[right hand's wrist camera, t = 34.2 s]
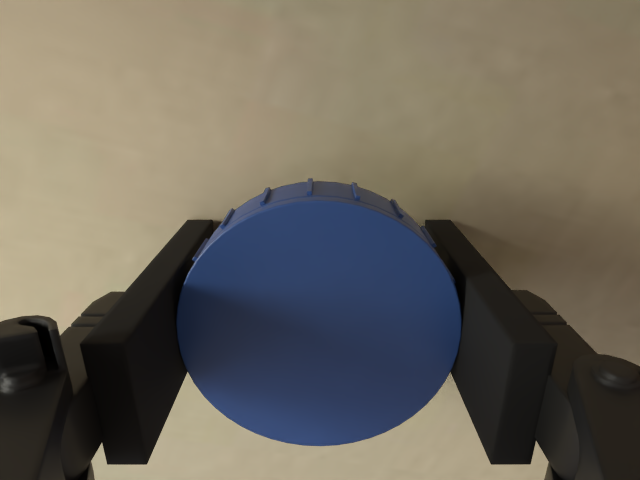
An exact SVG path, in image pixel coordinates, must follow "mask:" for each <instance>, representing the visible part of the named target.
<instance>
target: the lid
mask: <svg viewBox="0 0 640 480" xmlns="http://www.w3.org/2000/svg"><path fill="white" fill-rule="evenodd" d="M436 246H437V245H436V244H435V242H434V241H433V239H432V238H431V236H430V235H429V233H428V232H427V230H426V229H425V227H424V226H422V227H419V225H418V224H417V223H416V222H415V221H414V220H413V219H412V218H411V217H410V216H409V215H408V214H407V213H406V212H404V211H403V210H402V209H401V208H400V207H399V206H398V204H397V202H396V201H395V200H394V199H392V200H391V201H389V200H387V199H386V198H384V197H382V196H380V195H378V194H375V193H373V192H371V191H369V190H366V189H362V188H359V187H358V186H357V183H354V182H352V185H348V184H342V183H337V182H321V181H315V182H313V179H312V178H311V179H308V182H301V183H296V184H291V185H286V186H281V187H279V188H276V189H273V190H270V188H266V189H265V191H264V193H263V194H261V195H259V196H257V197H255V198H253V199H251V200H249V201H247V202H246V203H245V204H243V205H242V206H240V207H239V208H237V209H236V210H234V209H233V208H232V209H231V210H230V211H229V212H228V214H227V215H226V217H225V219H224V220H223V222H222V223H221V224H220V226H219V227H218V228H217V229H216V230H215V232H214V233H213V234H212V236H211V238H210V239H207V238H206V239H205V241H204V242H203V244H202V245H201V247H200V248H199V250H198V251H197V253H196V254H195V256H194V257H193V259H192V260H193V261H195V263H194V264H193V266H192V268H191V269H190V271H189V273H188V275H187V277H186V279H185V282H184V284H183V287H182V289H181V293H180V295H179V301H178V305H177V316H176V329H177V340H178V344H179V349H180V353H181V356H182V359H183V361H184V364H185V367H186V369H187V371H188V373H189V375H190V376H191V378H192V380H193V382H194V383H195V385H196V386H197V387H198V389H199V390H200V391H201V393H202V394H203V396H204V397H205V398H206V399H207V400H208V401H209V402H210V403H211V404H212V405H213V406H214V407H215V408H216V409H218V410H219V411H220V412H221V413H222V414H224V415H225V416H226V417H227V418H229V419H231V420H232V421H234V422H235V423H237V424H238V425H240V426H242V427H244V428H246V429H248V430H250V431H252V432H254V433H256V434H259V435H262V436H264V437H267V438H270V439H273V440H277V441H281V442H285V443H291V444H298V445H307V446H330V445H341V444H347V443H353V442H357V441H361V440H365V439H368V438H371V437H374V436H377V435H379V434H382V433H384V432H386V431H388V430H390V429H392V428H394V427H396V426H398V425H400V424H401V423H403V422H405V421H406V420H408V419H409V418H411V417H412V416H413V415H415V414H416V413H417V412H418V411H419V410H421V409H422V408H423V407H424V406H425V405H426V404H427V403H428V402H429V401H430V400H431V399H432V398H433V397H434V396H435V394H436V393H437V392H438V390H439V389H440V388H441V386H442V385H443V383H444V382H445V380H446V379H447V377H448V375H449V373H450V371H451V369H452V367H453V364H454V362H455V359H456V356H457V353H458V349H459V344H460V339H461V329H462V316H461V306H460V301H459V297H458V293H457V290H456V286H455V284H454V283H456V282H455V279H454V278H453V276H452V274H451V273H450V271H449V270H448V268H447V267H446V265H445V263H444V262H443V260H442V259H441V258H440V257H439V255H438V253H437V252H436V250H435V249H434V248H435V247H436Z"/></svg>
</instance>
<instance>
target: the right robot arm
mask: <svg viewBox="0 0 640 480" xmlns="http://www.w3.org/2000/svg"><path fill="white" fill-rule="evenodd" d="M425 229H426V230H427V232H428V233H429V235H430V236H431V238H432V239H433V241H434V242H435V244H436V245H437V246H436V247H435V248H434V249H435V250H436V252H437V253H438V255H439V257H440V258H441V259H442V260H443V262H444V263H445V265H446V267H447V268H448V270H449V271H450V273H451V274H452V276H453V278H454V279H455V282H456V283H454V284H455V286H456V290H457V293H458V297H459V301H460V306H461V316H462V329H461V339H460V344H459V349H458V353H457V356H456V359H455V362H454V364H453V367H452V369H451V371H450V372H451V374H452V376H453V379H454V381H455V383H456V385H457V388H458V390H459V392H460V395H461V397H462V399H463V401H464V404H465V406H466V408H467V411H468V413H469V415H470V417H471V420H472V422H473V424H474V427H475V429H476V431H477V433H478V436H479V438H480V440H481V443H482V445H483V447H484V449H485V452H486V454H487V456H488V459H489V461H490V463H491V464H531V460H532V455H533V451H534V447H535V442H536V441H537V442H538V444H539V446H540V448H541V449H542V451H543V453H544V454H545V456H546V458H547V459H548V461H549V463H548V467H547V471H546V475H545V479H544V480H640V366H638V365H636V364H633V363H631V362H629V361H626V360H624V359H621V358H617V357H613V356H609V355H601V354H597V353H596V352H595V351H594V350H593V349H592V348H591V347H590V346H589V345H588V344H587V343H586V342H585V341H584V340H583V339H582V338H581V337H580V336H579V335H578V334H577V333H576V332H575V330H574V329H573V328H572V327H571V326H570V325H567V322H566V321H565V320H564V319H563V318H562V317H561V316H560V315H557V312H556V311H555V310H554V309H553V308H552V307H551V306H550V305H549V304H548V303H547V302H546V301H545V300H544V299H542V298H540V297H538V296H536V295H535V294H533V293H531V292H529V291H527V290H511V289H510V288H509V287H508V286H507V285H506V284H505V282H504V281H503V280H502V279H501V278H500V277H499V276H498V274H497V273H496V272H495V271H494V270H493V269H492V267H491V266H490V265H489V264H488V263H487V262H486V261H485V259H484V258H483V257H482V256H481V255H480V254H479V253H478V251H477V250H476V249H475V248H474V247H473V246H472V244H471V243H470V242H469V241H468V240H467V239H466V238H465V236H464V235H463V234H462V233H461V232H460V231H459V230H458V228H457V227H456V226H455V225H454V224H453V223H452V221H451V220H426V221H425ZM212 234H213V222H212V220H187V221H186V222H185V224H184V225H183V226H182V227H181V228H180V229H179V231H178V232H177V233H176V234H175V235H174V236H173V237H172V239H171V240H170V241H169V242H168V243H167V244H166V245H165V247H164V248H163V249H162V250H161V251H160V252H159V253H158V255H157V256H156V257H155V258H154V259H153V260H152V261H151V263H150V264H149V265H148V266H147V267H146V268H145V270H144V271H143V272H142V273H141V274H140V275H139V276H138V278H137V279H136V280H135V281H134V282H133V283H132V284H131V286H130V287H129V288H128V289H127V290H126V291H125V292H110V293H108V294H106V295H105V296H103V297H101V298H99V299H98V300H96V301H94V302H92V304H91V305H90V306H89V307H88V308H87V309H86V310H85V311H84V312H83V313H82V314H81V317H78V318H77V319H76V320H75V321H74V322H73V323H72V324H71V327H68V328H67V329H66V330H65V331H64V332H63V333H62V334H61V335H59V331H58V327H57V323H56V321H54V320H53V319H51V318H50V317H45V316H38V315H36V316H22V317H17V318H13V319H9V320H4V321H2V322H0V480H95V479H94V472H93V467H92V463H91V460H92V458H93V457H94V455H95V453H96V451H97V450H98V448H99V446H100V445H101V443H103V448H104V452H105V456H106V460H107V464H147V463H148V461H149V458H150V456H151V454H152V452H153V449H154V447H155V445H156V442H157V440H158V438H159V436H160V433H161V431H162V429H163V426H164V424H165V422H166V420H167V417H168V415H169V413H170V410H171V408H172V406H173V404H174V401H175V399H176V397H177V394H178V392H179V390H180V388H181V385H182V383H183V381H184V378H185V376H186V374H187V372H188V371H187V369H186V367H185V364H184V361H183V359H182V356H181V353H180V349H179V344H178V340H177V329H176V316H177V305H178V301H179V295H180V293H181V289H182V287H183V284H184V282H185V279H186V277H187V275H188V273H189V271H190V269H191V268H192V266H193V264H194V263H195V261H193V260H192V259H193V257H194V256H195V254H196V253H197V251H198V250H199V248H200V247H201V245H202V244H203V242H204V241H205V239H206V238H207V239H210V238H211V236H212Z"/></svg>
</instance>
